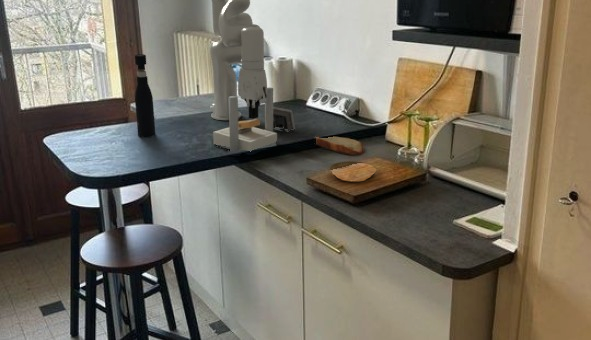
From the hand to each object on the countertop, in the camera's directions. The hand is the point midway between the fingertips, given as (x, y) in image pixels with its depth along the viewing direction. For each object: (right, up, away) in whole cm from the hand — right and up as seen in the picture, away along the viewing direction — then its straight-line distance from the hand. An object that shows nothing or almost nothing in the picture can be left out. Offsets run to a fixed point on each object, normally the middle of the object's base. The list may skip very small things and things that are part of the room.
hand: (253, 117), depth 198 cm
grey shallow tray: (-3, -9, +7) cm, 12 cm away
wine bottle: (-42, -5, +17) cm, 45 cm away
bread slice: (+30, -11, +7) cm, 32 cm away
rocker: (-3, -2, +4) cm, 5 cm away
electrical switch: (+9, -3, +25) cm, 27 cm away
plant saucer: (+32, -20, -20) cm, 43 cm away
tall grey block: (+5, -8, +11) cm, 14 cm away
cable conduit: (-6, -13, -2) cm, 14 cm away
